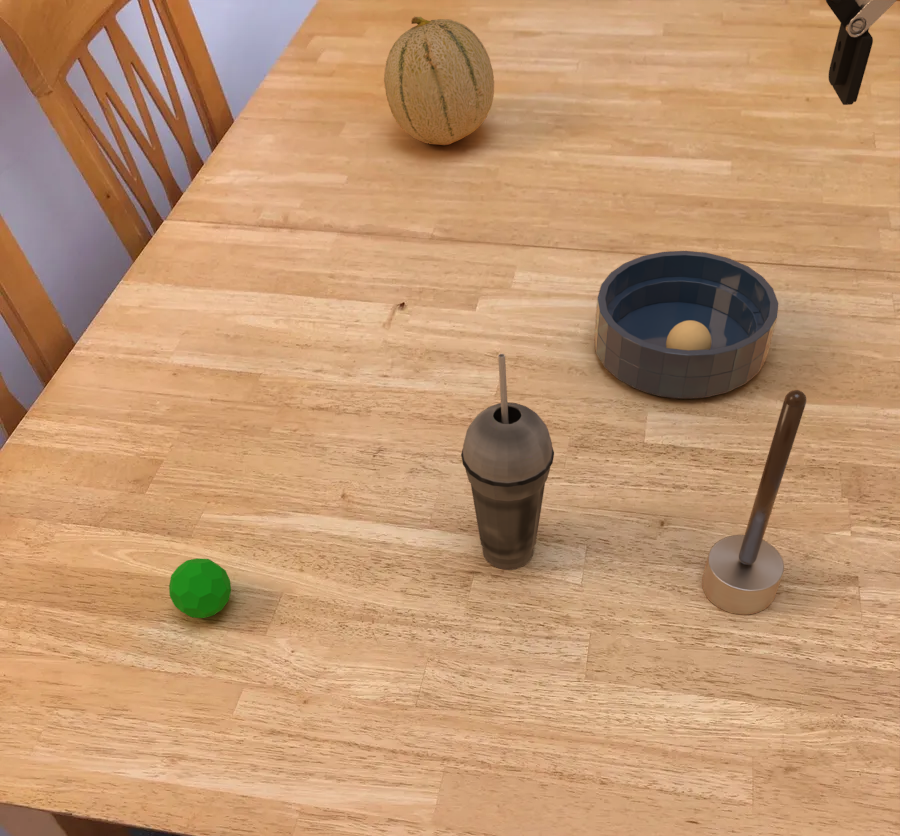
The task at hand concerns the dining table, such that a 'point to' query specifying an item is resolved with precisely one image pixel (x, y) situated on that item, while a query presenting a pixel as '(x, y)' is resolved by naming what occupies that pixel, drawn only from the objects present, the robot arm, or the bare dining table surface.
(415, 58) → the cantaloupe
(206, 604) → the polyhedron
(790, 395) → the weighted rod stand
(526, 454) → the beverage cup
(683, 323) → the yellow ball
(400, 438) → the dining table surface
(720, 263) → the bowl
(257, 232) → the dining table surface
